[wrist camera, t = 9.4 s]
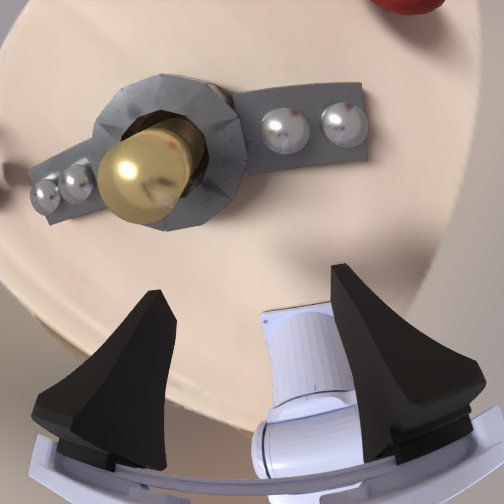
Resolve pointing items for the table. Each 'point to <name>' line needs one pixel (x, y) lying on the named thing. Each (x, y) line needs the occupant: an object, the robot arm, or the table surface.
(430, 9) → the onion
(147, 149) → the pin
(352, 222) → the table surface
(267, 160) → the studded flange bracket
